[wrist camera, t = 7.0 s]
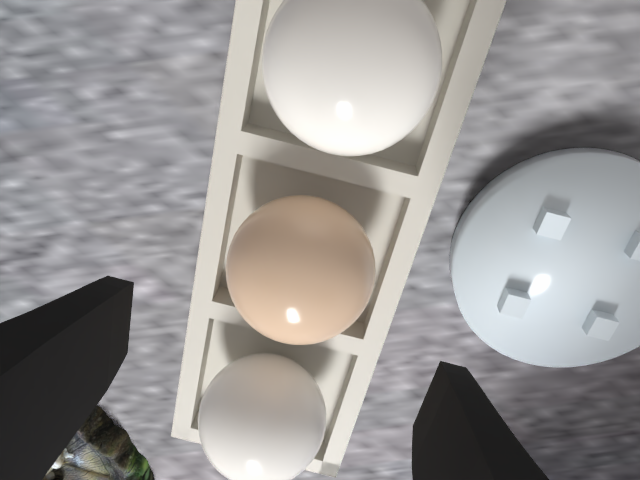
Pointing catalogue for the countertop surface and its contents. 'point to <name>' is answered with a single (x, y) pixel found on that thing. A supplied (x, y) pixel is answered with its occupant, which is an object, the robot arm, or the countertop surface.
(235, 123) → the carton
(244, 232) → the egg brown
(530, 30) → the countertop surface
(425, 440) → the robot arm
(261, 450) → the egg white far
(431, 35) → the egg white near
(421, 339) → the countertop surface
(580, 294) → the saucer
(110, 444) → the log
